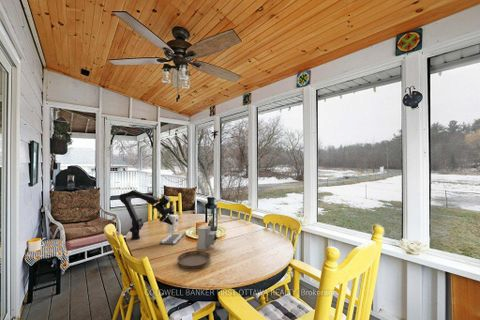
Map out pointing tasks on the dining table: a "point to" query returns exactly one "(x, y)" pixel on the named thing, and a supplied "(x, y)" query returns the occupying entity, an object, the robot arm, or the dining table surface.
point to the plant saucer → (193, 259)
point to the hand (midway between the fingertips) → (174, 223)
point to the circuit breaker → (205, 237)
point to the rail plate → (171, 239)
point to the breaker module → (173, 227)
